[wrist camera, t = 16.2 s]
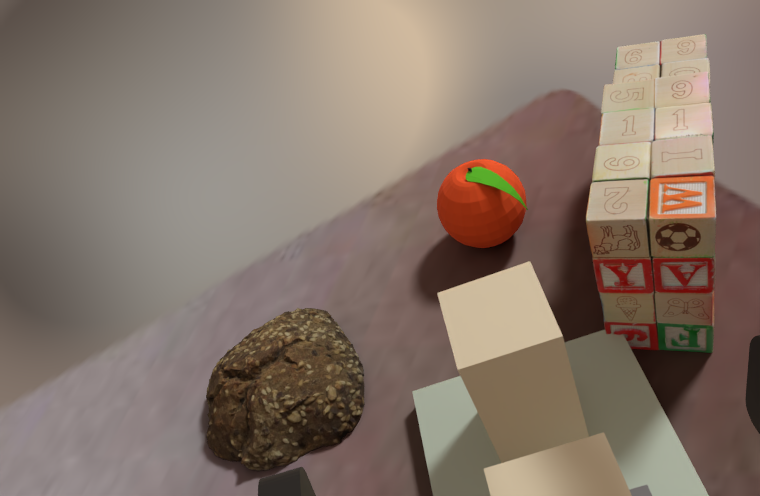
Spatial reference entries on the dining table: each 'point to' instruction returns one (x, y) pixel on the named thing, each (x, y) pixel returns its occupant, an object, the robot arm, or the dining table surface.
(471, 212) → the clementine
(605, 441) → the maple pillar
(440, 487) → the baseplate
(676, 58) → the stack of blocks
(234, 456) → the bread roll
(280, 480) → the robot arm
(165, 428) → the dining table surface
